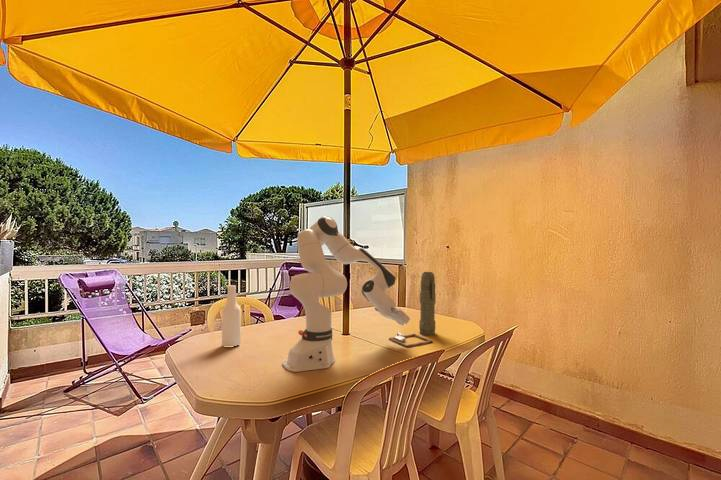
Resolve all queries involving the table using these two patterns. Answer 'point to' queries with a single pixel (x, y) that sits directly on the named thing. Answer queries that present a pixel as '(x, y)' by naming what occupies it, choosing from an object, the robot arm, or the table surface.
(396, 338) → the lighter
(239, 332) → the alcohol
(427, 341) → the frame
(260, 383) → the table surface
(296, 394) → the table surface
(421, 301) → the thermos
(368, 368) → the table surface
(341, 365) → the table surface
